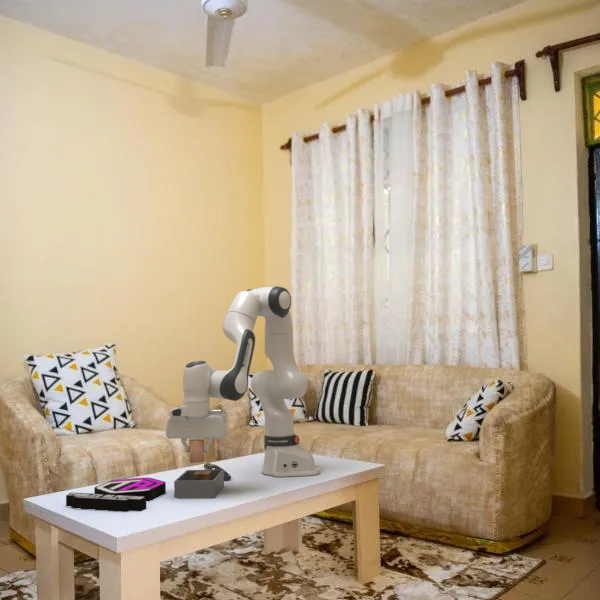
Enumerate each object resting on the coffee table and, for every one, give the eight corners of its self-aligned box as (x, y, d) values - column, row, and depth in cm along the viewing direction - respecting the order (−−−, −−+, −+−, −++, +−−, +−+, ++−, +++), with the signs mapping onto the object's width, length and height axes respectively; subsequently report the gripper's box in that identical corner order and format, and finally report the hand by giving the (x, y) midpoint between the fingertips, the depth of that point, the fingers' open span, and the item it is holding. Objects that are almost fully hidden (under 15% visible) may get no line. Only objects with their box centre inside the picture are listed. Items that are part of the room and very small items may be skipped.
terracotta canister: (202, 462, 211) (202, 441, 211) (187, 462, 211) (187, 441, 212) (205, 459, 216) (205, 438, 216) (191, 459, 216) (191, 438, 217)
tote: (223, 485, 225) (223, 469, 225) (214, 498, 208) (214, 480, 208) (186, 486, 226) (186, 469, 226) (174, 498, 209) (174, 481, 209)
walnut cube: (211, 485, 223) (211, 471, 224) (208, 488, 218) (208, 474, 219) (197, 485, 224) (197, 471, 224) (193, 489, 219) (193, 474, 219)
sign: (138, 514, 193) (182, 490, 222) (138, 501, 193) (182, 479, 222) (60, 509, 200) (113, 486, 229) (60, 496, 200) (113, 476, 229)
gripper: (228, 408, 217) (229, 449, 216) (169, 409, 218) (169, 450, 217) (225, 410, 211) (226, 453, 210) (164, 411, 212) (164, 453, 211)
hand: (196, 451), depth 214 cm, fingers closed on terracotta canister, 5 cm apart
